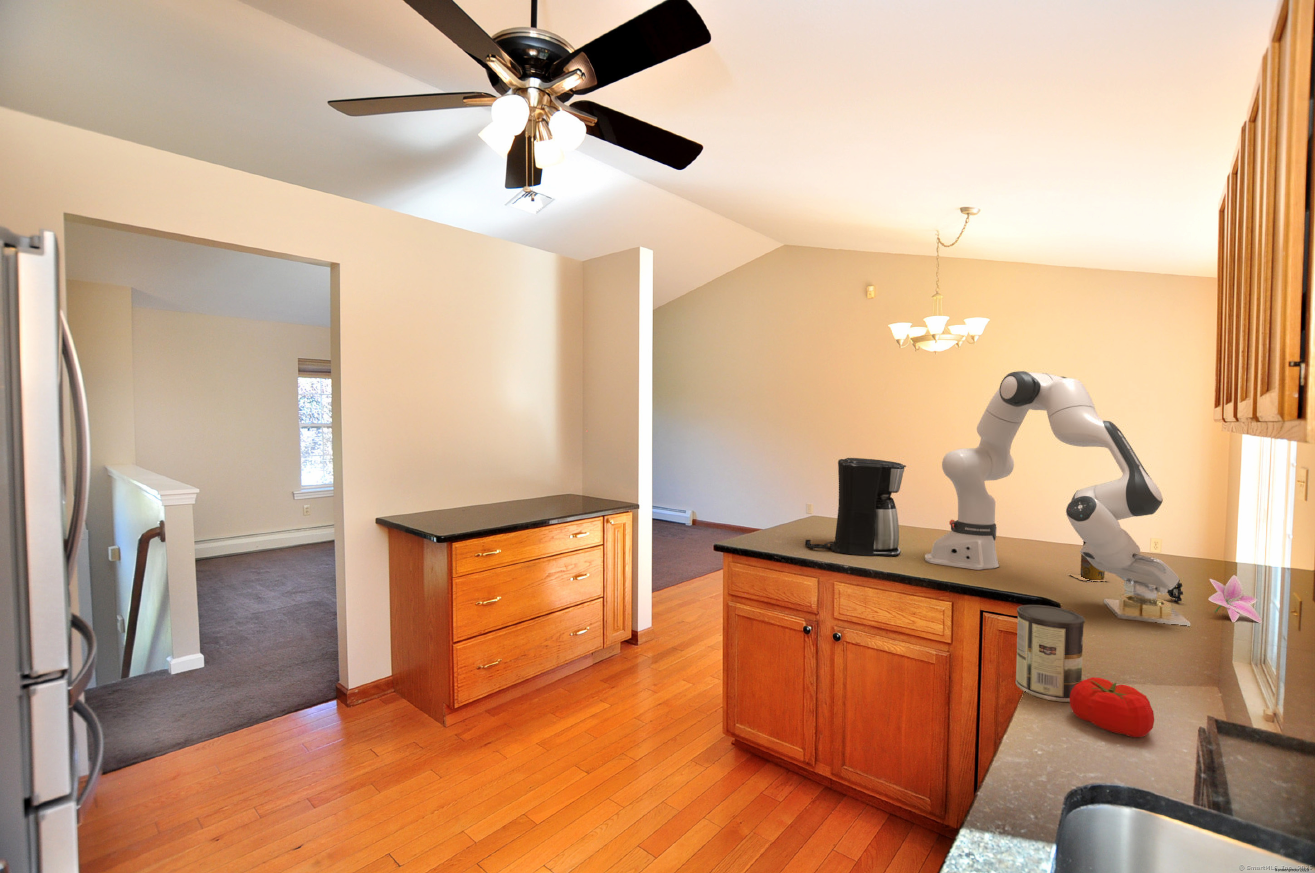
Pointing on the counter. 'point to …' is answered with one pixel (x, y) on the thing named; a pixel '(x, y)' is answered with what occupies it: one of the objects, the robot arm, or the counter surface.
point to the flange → (1145, 611)
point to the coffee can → (1049, 651)
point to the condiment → (1090, 569)
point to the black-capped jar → (1144, 593)
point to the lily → (1234, 599)
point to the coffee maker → (866, 508)
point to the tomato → (1112, 707)
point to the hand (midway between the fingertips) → (1147, 587)
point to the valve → (1171, 592)
